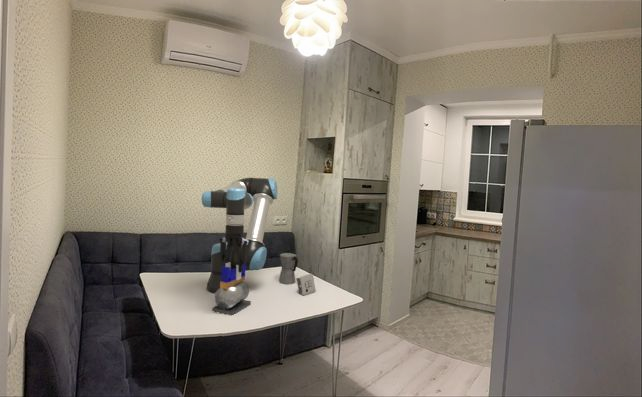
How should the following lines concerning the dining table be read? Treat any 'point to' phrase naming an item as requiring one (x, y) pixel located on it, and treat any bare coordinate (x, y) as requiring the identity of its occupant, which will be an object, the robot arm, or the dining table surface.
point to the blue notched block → (230, 274)
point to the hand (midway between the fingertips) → (232, 278)
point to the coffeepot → (288, 267)
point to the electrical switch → (306, 284)
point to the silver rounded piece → (232, 297)
